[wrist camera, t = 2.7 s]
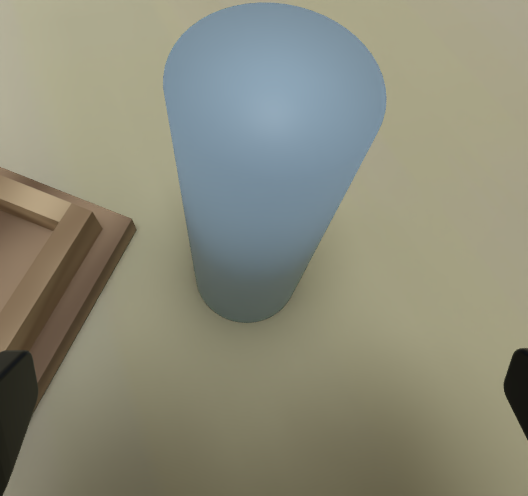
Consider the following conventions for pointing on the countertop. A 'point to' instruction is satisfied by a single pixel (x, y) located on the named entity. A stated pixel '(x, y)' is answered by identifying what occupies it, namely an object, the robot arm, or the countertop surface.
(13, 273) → the cradle
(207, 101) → the tall blue cylinder
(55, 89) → the countertop surface
